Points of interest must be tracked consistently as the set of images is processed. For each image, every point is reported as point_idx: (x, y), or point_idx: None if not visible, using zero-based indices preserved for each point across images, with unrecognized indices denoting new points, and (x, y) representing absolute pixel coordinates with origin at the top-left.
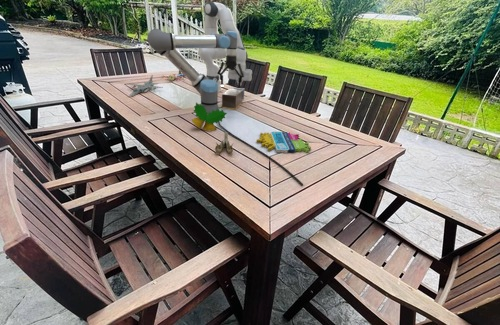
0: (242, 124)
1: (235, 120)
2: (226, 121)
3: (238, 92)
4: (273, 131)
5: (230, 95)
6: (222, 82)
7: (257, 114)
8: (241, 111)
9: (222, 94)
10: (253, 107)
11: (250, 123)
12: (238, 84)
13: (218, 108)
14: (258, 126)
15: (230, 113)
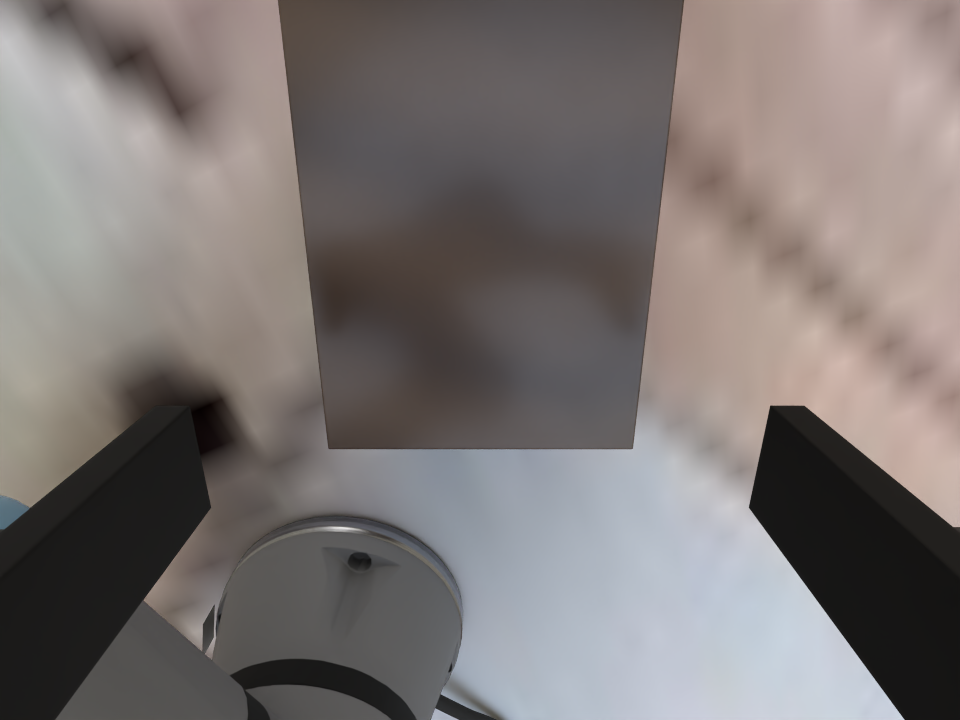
0: (733, 711)
1: (652, 655)
2: (573, 699)
3: (634, 127)
4: None
5: (511, 445)
6: (167, 497)
7: (898, 410)
8: (674, 380)
9: (338, 447)
10: (849, 109)
11: (808, 672)
12: (786, 556)
13: (441, 672)
14: (885, 706)
15: (552, 499)
